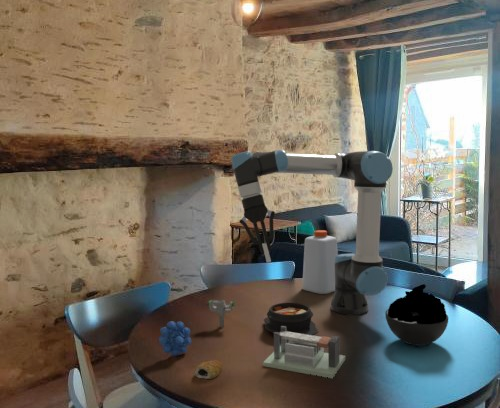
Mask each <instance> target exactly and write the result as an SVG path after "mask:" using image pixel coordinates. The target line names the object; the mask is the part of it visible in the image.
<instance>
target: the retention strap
mask: <svg viewBox="0 0 500 408" xmlns="http://www.w3.org/2000/svg"><path fill="white" fill-rule="evenodd" d="M317 336H318V335H313V336H311V335H305V334H299V333H294V332H288V331H283V330H282V331H281V332H280V340H281V339H286V340H287V341H290V340H292V341H297V342H303V343H308V344H314V345H317V347H323V348H324V349H327V348H328V341H329V340H330V339H331V338H332V336H331V337H329V336H324V335H323V336H320V337H317Z"/></svg>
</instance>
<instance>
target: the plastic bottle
mask: <svg viewBox="0 0 500 408" xmlns="http://www.w3.org/2000/svg"><path fill="white" fill-rule="evenodd" d="M303 249H304V250H303V251H304V252H303V267H302V268H303V269H302V282H301V283H302V286H301V287H302V289H303V291H305V292H310V293H314V294H317V295H328V294H331V293H334V292H335V264H334V263H335V257H336V256H337V255H339V251H338V250H339V249H338V241H337V238H336V237H335V236H331V235H328V231H327V230H324V229H323V230H322V229H321V230H320V229H319V230H314V231H313V235H311V236H308V237H306V238H305V239H304V247H303Z"/></svg>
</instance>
